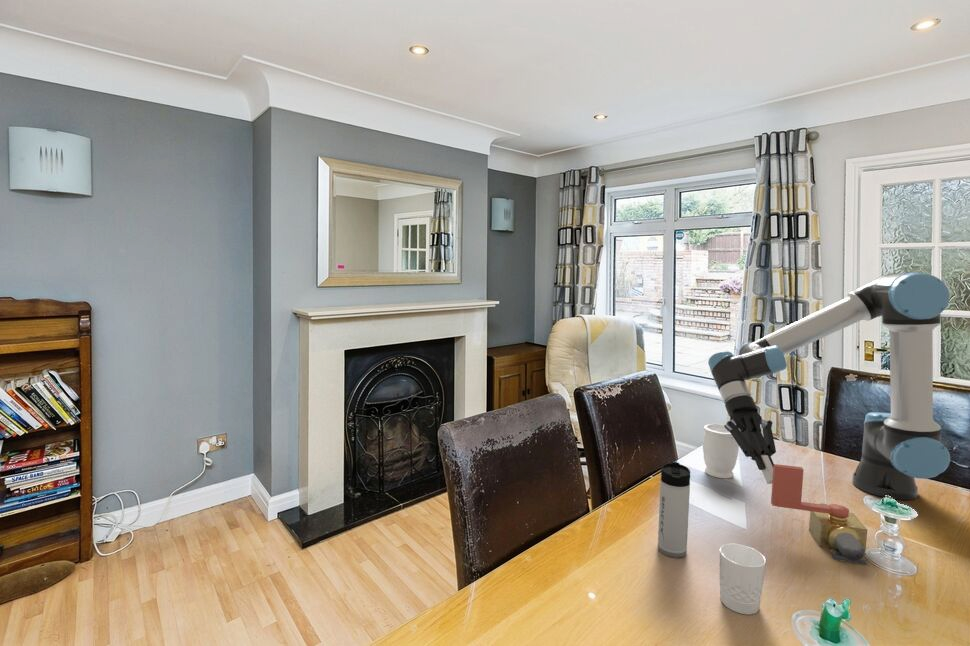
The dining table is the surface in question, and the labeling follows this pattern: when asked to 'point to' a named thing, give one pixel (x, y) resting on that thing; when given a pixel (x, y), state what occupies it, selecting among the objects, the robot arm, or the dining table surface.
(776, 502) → the lever
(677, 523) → the travel mug
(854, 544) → the valve body
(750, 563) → the white cup
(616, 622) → the dining table surface
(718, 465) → the jar
